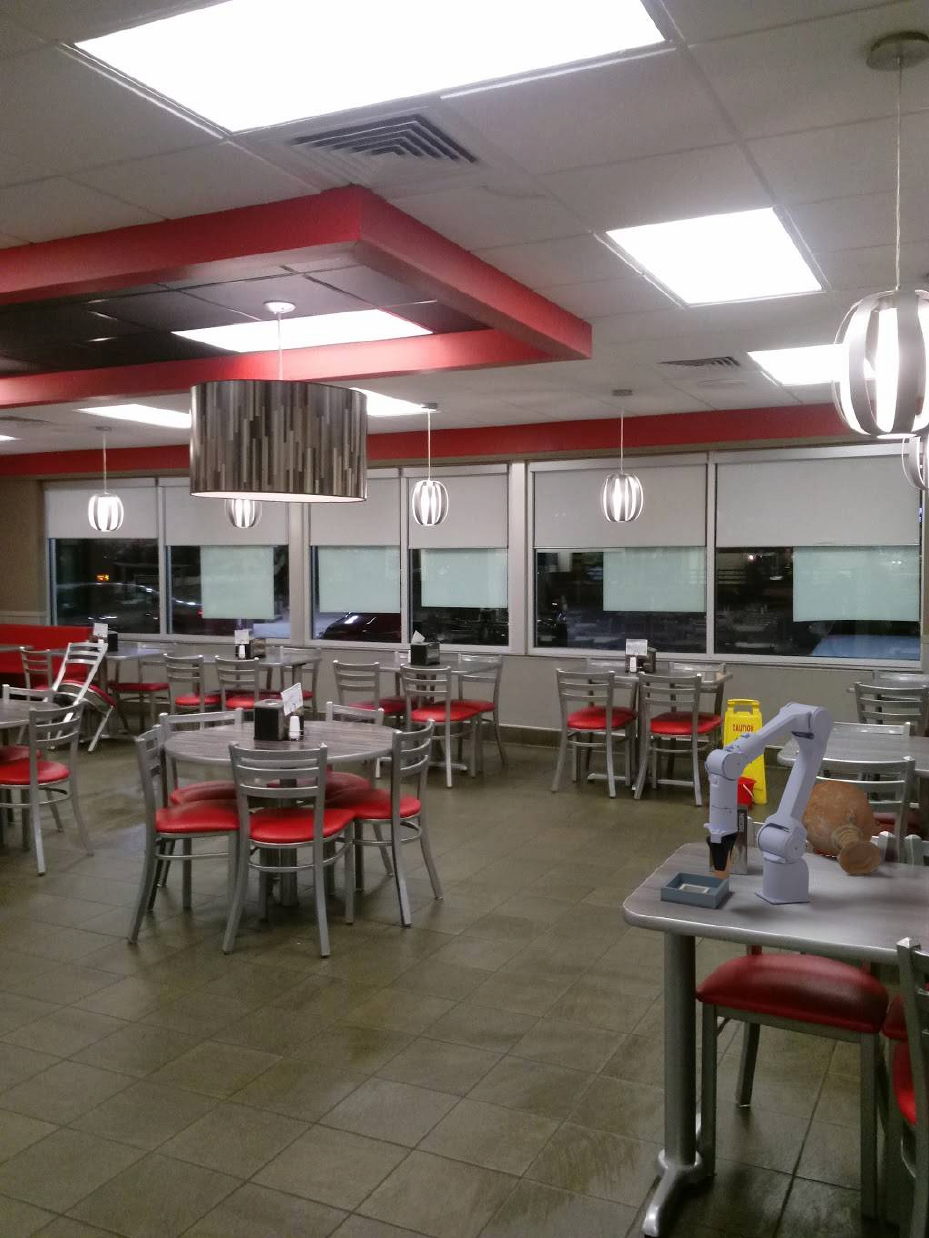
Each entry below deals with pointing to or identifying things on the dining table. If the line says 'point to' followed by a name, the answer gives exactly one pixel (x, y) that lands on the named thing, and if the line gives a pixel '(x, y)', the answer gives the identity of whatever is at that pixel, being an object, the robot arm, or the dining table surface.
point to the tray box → (695, 889)
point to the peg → (723, 873)
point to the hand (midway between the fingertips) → (721, 868)
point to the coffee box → (738, 844)
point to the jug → (843, 826)
